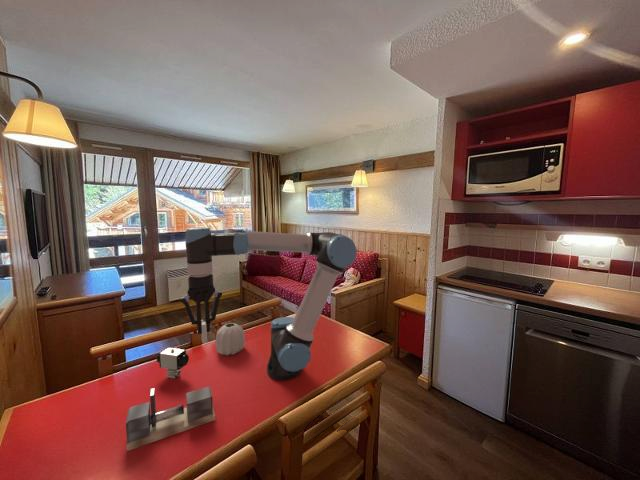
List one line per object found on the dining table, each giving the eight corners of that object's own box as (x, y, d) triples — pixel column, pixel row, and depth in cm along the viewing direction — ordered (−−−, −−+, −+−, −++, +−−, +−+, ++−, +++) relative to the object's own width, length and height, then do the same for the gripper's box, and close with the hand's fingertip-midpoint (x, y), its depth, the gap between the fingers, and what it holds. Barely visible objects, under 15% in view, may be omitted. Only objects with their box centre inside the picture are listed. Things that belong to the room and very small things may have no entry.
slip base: (211, 402, 96) (210, 381, 95) (215, 419, 88) (214, 397, 87) (130, 428, 84) (128, 404, 83) (126, 451, 76) (124, 425, 75)
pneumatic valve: (182, 381, 107) (180, 353, 106) (157, 377, 109) (155, 350, 108) (191, 373, 112) (190, 346, 111) (167, 369, 115) (166, 343, 113)
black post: (183, 410, 90) (182, 379, 88) (184, 420, 85) (182, 388, 84) (133, 427, 83) (130, 393, 81) (131, 438, 78) (128, 403, 77)
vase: (249, 353, 129) (248, 326, 128) (219, 362, 121) (218, 334, 120) (240, 341, 140) (239, 317, 139) (212, 348, 133) (211, 323, 131)
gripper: (219, 269, 94) (222, 332, 97) (177, 274, 88) (182, 341, 91) (223, 274, 88) (226, 341, 91) (178, 279, 81) (184, 351, 84)
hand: (204, 341), depth 91 cm, fingers closed
